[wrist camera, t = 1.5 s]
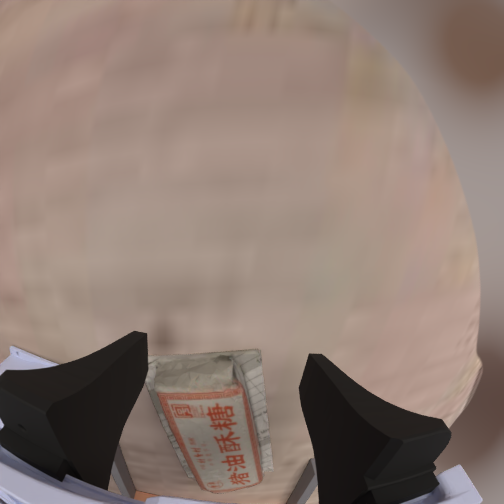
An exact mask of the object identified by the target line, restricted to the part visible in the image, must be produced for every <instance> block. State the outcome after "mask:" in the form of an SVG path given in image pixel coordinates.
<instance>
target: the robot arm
mask: <svg viewBox="0 0 504 504" xmlns="http://www.w3.org/2000/svg"><path fill="white" fill-rule="evenodd" d="M10 352H11V355H10V356H9V357H7V358H6V359H5V360H4V361H3V362H2V363H1V364H0V504H236V503H222V502H212V501H203V500H196V499H189V498H183V497H173V496H164V495H162V496H155V497H150V498H147V499H146V501H145V502H143V501H139V500H135V499H132V498H128V497H125V496H122V495H119V494H116V493H113V492H110V491H108V485H109V480H110V475H111V470H112V466H113V462H114V458H115V454H116V450H117V447H118V443H119V440H120V437H121V434H122V431H123V428H124V425H125V423H126V421H127V419H128V417H129V415H130V412H131V410H132V408H133V406H134V404H135V402H136V400H137V398H138V396H139V394H140V392H141V390H142V388H143V386H144V383H145V380H146V376H147V373H148V370H149V367H148V345H147V333H142V332H138V331H133V332H131V333H129V334H128V335H126V336H124V337H122V338H121V339H119V340H117V341H115V342H114V343H112V344H110V345H108V346H106V347H104V348H102V349H100V350H98V351H96V352H94V353H92V354H90V355H88V356H85V357H83V358H80V359H77V360H75V361H72V362H68V363H65V364H61V365H60V364H57V363H54V362H51V361H49V360H46V359H43V358H41V357H38V356H36V355H33V354H31V353H28V352H26V351H24V350H21V349H19V348H17V347H14V346H11V347H10ZM299 394H300V401H301V407H302V411H303V414H304V418H305V421H306V425H307V428H308V431H309V435H310V438H311V442H312V446H313V450H314V457H315V464H316V472H317V481H318V495H319V504H480V503H481V502H482V500H483V499H482V498H481V496H480V495H479V493H478V491H477V490H476V488H475V487H474V485H473V484H472V482H471V480H470V479H469V478H468V476H467V474H466V473H465V471H464V470H463V468H462V467H461V465H457V466H455V467H452V468H450V469H448V470H446V471H443V472H441V473H440V474H438V475H437V476H435V475H434V473H433V471H434V470H435V469H436V466H435V465H434V463H433V462H434V461H435V460H436V459H437V457H438V456H439V455H440V453H441V452H442V451H443V450H444V449H445V447H446V446H447V445H448V443H449V440H450V438H451V431H450V430H449V428H448V427H447V426H446V424H445V423H444V421H443V420H442V419H438V418H433V417H428V416H424V415H420V414H417V413H413V412H410V411H407V410H405V409H402V408H399V407H397V406H395V405H393V404H390V403H388V402H386V401H384V400H382V399H381V398H379V397H377V396H375V395H374V394H372V393H370V392H369V391H367V390H366V389H364V388H363V387H362V386H360V385H359V384H357V383H356V382H355V381H354V380H352V379H351V378H350V377H348V376H347V375H346V374H345V373H344V372H343V371H341V370H340V369H339V368H338V367H337V366H336V365H334V364H333V363H332V362H331V361H330V360H329V359H327V358H326V357H325V356H324V355H322V354H309V355H308V359H307V362H306V366H305V369H304V372H303V376H302V379H301V382H300V385H299Z"/></svg>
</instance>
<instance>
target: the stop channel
mask: <svg viewBox="0 0 504 504" xmlns="http://www.w3.org/2000/svg"><path fill="white" fill-rule="evenodd" d="M111 474H112V476H113V478H114V480H115V482H116V484H117V486H118V488H119V490H120V492H121V494H122V496H125V497H128V498H132V499H135V500H139V501H143V502H145V501H146V499H147V498H150V497H155V496H158V495H153V494H149V493H144V492H140V491H136V489H135V487H134V484H133V482H132V479H131V477H130V474H129V471H128V469H127V466H126V463H125V460H124V458H123V455H122V452H121V449H120V446H119V443H118V447H117V450H116V454H115V458H114V462H113V466H112V470H111ZM317 485H318V481H317V472H316V464H315V458H313V459H310V461H309V463H308V465H307V467H306V469H305V471H304V473H303V475H302V476H301V478H300V480H299V482H298V484H297V486H296V487H295V489H294V491H293V493H292V494H291V496H290V498H289V499H288V501H287V503H286V504H305V503H306V501H307V500H308V498H309V497H310V496H311V494H312V493H313V491H314V490H315V488H316V487H317Z"/></svg>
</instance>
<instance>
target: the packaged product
mask: <svg viewBox="0 0 504 504" xmlns="http://www.w3.org/2000/svg"><path fill="white" fill-rule="evenodd" d="M148 367H149V370H148V373H147V376H146V380H145V382H146V385H147V388H148V391H149V393H150V396H151V398H152V401H153V403H154V406H155V408H156V410H157V413H158V415H159V417H160V420H161V422H162V425H163V427H164V429H165V431H166V433H167V436H168V438H169V440H170V442H171V444H172V446H173V448H174V450H175V451H176V454H177V456H178V458H179V460H180V462H181V464H182V466H183V468H184V470H185V471H186V473H187V475H188V477H191V478H196V480H197V482H198V484H199V486H200V488H201V489H202V490H204V491H210V492H212V493H217V494H219V493H227V492H229V491H235V490H239V489H242V488H246V487H251V486H254V485H257V484H259V483H261V481H262V480H263V477H264V472H265V471H272V472H273V461H272V450H271V442H270V435H269V424H268V416H267V408H266V395H265V386H264V379H263V373H262V360H261V350H259V349H249V350H238V351H226V352H212V353H198V354H178V355H148Z"/></svg>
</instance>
